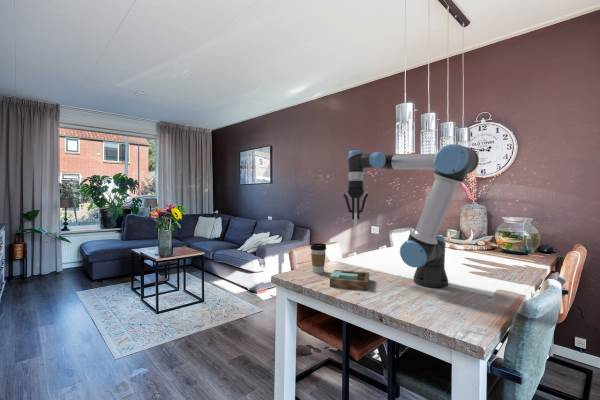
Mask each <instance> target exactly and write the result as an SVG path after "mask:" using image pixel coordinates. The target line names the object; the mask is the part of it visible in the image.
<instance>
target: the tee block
mask: <svg viewBox="0 0 600 400" xmlns="http://www.w3.org/2000/svg"><path fill="white" fill-rule="evenodd" d="M330 278H337V279H348V280H358V274H350V273H342V271H335V270H333V271H332V272H331V274H330V275H329V279H330Z"/></svg>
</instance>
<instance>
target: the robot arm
mask: <svg viewBox="0 0 600 400" xmlns="http://www.w3.org/2000/svg"><path fill="white" fill-rule="evenodd" d="M347 158H348V160H347V161H348V175H347V176H348V180H349V181H348V182H347V183H348V185H347V186H348V190H347V192H346V193H343V198H344V199H345V202H346V206H347V210H348V212H349V213H351V219H352V220H353V223H354V224H353V226H354V227H357V226H358V220H360V213H363V211H364V208H365V204H366V200H367V197H369V193H366V192H365V190H364V181H363V180H364V169H378V170H379V169H380V170H381V169H382V170H387V171H388V170H389V171H390V170H413V171H415V170H416V171H417V170H418V171H420V170H422V171H426V170H427V171H433V173H432V174H433V176H434V181H433V184H432V186H431V189H430V191H429V194H428V197H427V199H426V202H425V204H424V207H423V209H422V212H421V214H420V217H419V220H418V222H417V225H416V227H415V229H414V230H412V231H410V232H409V235H408V238H407V240H406V241H404V242H403V243H402V244H401V245H400V247H399V255H400V257H401V260H402V261H403V263H404V264H406V265H407V266H409V267H411V268H416V270H415V272H414V275H413V283H415V284H416V285H418V286H421V285H422V287H425V286H426V287H427V288H432V287H443V288H446V287H445V286H447V287H448V286H449V279H448V276H447V271H446V269H445V268H446V267H445V266H446V265H445V263H446V259H445V257H446V239H445V237H444V236H443V235H438V233H439V230H440V227H441V225H442V223H443V221H444V218H445V216H446V213H447V210H448V208H449V206H450V204H451V202H452V198H453V197H454V195H455V194H454V193H455V191H456V190H457V186H458V185H460V184H463V183H464V180H465V179H466V176H467V175H470V174H471V173H472V172H474V171H475V170H476V169H477V168H478V166H479V162H480V161H479V160H480V159H479V158H480V157H479V155H478V152H476V150H474V149H473V148H470V147H467V146H464V145H461V144H457V143H456V144H455V143H450V144H447V145H444V146H442V147H440V148H439V150H438V151H437V152H436V153H417V154H416V153H412V154H411V153H410V154H409V153H407V154H405V153H404V154H402V153H400V154H384V152H382V151H374V152H368V153H364V151H363V150H361V149H360V150H359V149H357V150H356V149H355V150H353V149H352V150H349V152H348V157H347ZM362 196H363V200H362V203H361V207H360V198H361V197H362ZM349 197H350V198H351V205H350V200H349ZM355 200H356V204H355ZM355 205H356V212H355Z"/></svg>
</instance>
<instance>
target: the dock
mask: <svg viewBox="0 0 600 400" xmlns="http://www.w3.org/2000/svg"><path fill="white" fill-rule="evenodd" d="M334 271H342V273H350V274H358V280H348V279H337V278H330V277H329V288H330V287H332V288H340V289H342V288H343V289H351V290H352V289H354V290H361V291H363V290H364V291H368V289H369V283H370V272H368V271H367V272H366V271H354V270H341V269H335V270H334Z"/></svg>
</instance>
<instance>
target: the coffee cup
mask: <svg viewBox="0 0 600 400" xmlns="http://www.w3.org/2000/svg"><path fill="white" fill-rule="evenodd" d="M310 251H311V252H310V256H311V269H312V273H314V274H319V275H320V274H323V273H324V272H325V263H326V251H327V244H326V243H323V242H322V243H321V242H319V243H312V244H310Z"/></svg>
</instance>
